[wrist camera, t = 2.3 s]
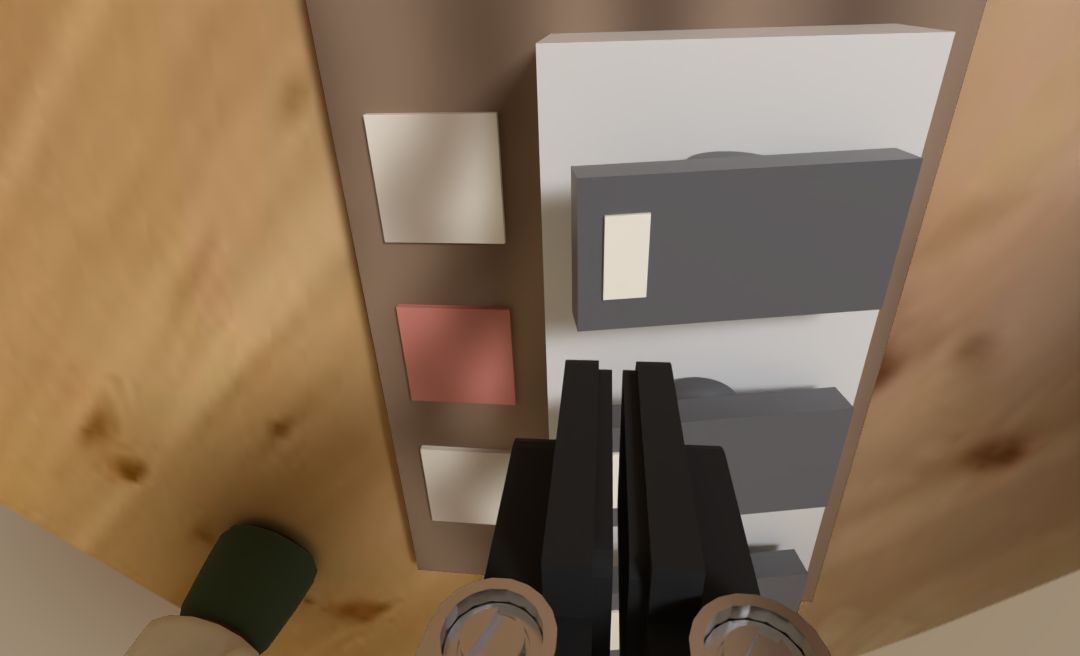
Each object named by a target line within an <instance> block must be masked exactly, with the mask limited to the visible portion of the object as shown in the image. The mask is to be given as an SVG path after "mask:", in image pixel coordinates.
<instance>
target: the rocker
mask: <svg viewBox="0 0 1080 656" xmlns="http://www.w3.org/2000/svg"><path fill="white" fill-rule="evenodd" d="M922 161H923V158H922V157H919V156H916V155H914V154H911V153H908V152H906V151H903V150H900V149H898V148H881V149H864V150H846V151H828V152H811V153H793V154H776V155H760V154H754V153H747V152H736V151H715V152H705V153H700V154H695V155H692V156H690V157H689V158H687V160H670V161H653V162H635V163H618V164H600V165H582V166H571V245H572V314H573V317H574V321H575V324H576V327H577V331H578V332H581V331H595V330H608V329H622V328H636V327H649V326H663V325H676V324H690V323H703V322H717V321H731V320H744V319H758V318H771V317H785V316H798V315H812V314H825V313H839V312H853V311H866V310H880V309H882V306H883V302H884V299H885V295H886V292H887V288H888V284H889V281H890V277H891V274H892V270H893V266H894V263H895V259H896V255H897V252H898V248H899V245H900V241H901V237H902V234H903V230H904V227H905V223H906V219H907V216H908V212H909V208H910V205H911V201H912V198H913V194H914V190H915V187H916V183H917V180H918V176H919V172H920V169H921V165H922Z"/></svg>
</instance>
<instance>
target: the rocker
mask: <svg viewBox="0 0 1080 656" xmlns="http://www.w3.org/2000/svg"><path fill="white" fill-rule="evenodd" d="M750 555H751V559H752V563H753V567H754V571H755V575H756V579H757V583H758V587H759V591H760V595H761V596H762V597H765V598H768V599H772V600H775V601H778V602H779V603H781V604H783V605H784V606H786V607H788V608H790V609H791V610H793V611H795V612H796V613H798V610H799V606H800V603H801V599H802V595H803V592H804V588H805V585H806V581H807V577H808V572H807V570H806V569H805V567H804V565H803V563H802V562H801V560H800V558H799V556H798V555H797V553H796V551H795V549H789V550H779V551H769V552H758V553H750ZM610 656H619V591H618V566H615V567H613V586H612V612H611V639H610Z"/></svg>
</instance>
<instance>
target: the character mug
mask: <svg viewBox="0 0 1080 656" xmlns="http://www.w3.org/2000/svg"><path fill="white" fill-rule="evenodd" d="M316 573H317V569H316V566H315V563H314V560H313V557H312V555H310V554H309V553H308V552H306V551H305V550H304V549H302V548H301V547H299V546H298V545H297V544H295V543H293V542H292V541H290V540H288V539H286V538H284V537H283V536H281V535H279V534H277V533H275V532H273V531H270V530H266V529H263V528H260V527H257V526H254V525H243V526H233V527H232V528H230V529H229V530H227V531H226V532H224V533H223V534H222V535H221V536H220V538H219V540H218V541H217V543H216V544H215V546H214V548H213V549H212V551H211V553H210V554H209V556H208V558H207V559H206V561H205V563H204V565H203V567H202V568H201V570H200V572H199V574H198V576H197V578H196V580H195V582H194V583H193V585H192V587H191V589H190V591H189V593H188V595H187V597H186V598H185V600H184V602H183V604H182V608H181V613H180V616H175V615H169V616H166V617H162V618H158V619H155V620H152V621H151V622H150V623H149V624H148V625H147V627H146V628H145V629H144V630H143V632H142V633H141V634H140V635H139V637H138V638H137V639H136V641H135V642H134V643H133V645H132V646H131V647H130V649H129V650H128V651H127V653H126V654H125V655H124V656H260V654H261V653H263V652H264V651H265V650H266V649H267V648H268V647H269V646H270V644H271V643H272V642H273V640H274V639H275V637H276V636H277V635H278V633H279V632H280V631H281V629H282V628H283V627H284V625H285V624H286V622H287V621H288V620H289V618H290V617H291V616H292V614H293V613H294V611H295V610H296V609H297V607H298V605H299V604H300V602H301V601H302V599H303V598H304V596H305V595H306V593H307V592H308V590H309V589H310V587H311V585H312V584H313V582H314V579H315V576H316Z"/></svg>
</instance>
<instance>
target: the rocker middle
mask: <svg viewBox="0 0 1080 656" xmlns="http://www.w3.org/2000/svg"><path fill="white" fill-rule="evenodd" d="M674 383H675V389H676V395H677V401H678V407H679V413H680V419H681V426H682V432H683V438H684V444H685V445H708V446H721V447H722V448H723V449H724V452H725V455H726V459H727V463H728V467H729V471H730V475H731V479H732V483H733V487H734V491H735V495H736V499H737V503H738V507H739V511H740V515H744V514H755V513H765V512H776V511H787V510H797V509H808V508H819V507H827V505H828V501H829V498H830V494H831V490H832V487H833V483H834V480H835V476H836V472H837V469H838V465H839V462H840V458H841V454H842V451H843V447H844V443H845V440H846V436H847V433H848V429H849V425H850V422H851V418H852V415H853V411H854V407H853V406H852V405H851V404H850V403H849V402H848V400H847V399H846V398H845V397H844V396H843V395H842V394H841V393H840V392H839V391H838V389H837V388H836V387H827V388H815V389H802V390H790V391H778V392H765V393H753V394H741V395H737V394H736V393H735V391H734V390H733V389H731V388H730V387H729V386H727V385H726V384H724V383H722V382H719V381H716V380H713V379H709V378H702V377H691V378H684V379H681V380H678V381H676V382H674ZM620 422H621V404H618V405H612V435H613V527H616V526H618V522H617V500H618V472H619V447H620Z"/></svg>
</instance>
